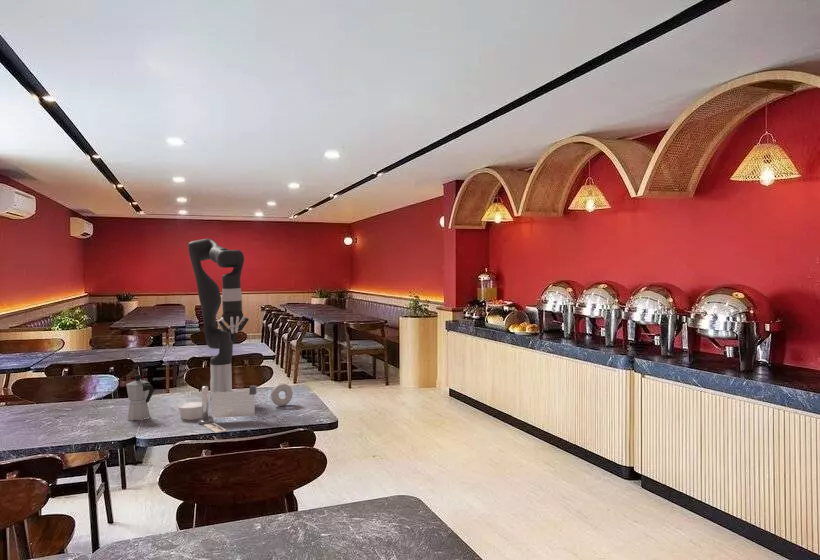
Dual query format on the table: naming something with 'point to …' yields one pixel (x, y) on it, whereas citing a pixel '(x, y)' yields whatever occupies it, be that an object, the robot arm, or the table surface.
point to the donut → (277, 390)
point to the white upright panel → (229, 403)
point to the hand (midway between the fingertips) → (233, 342)
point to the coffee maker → (139, 398)
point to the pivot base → (205, 421)
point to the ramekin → (191, 410)
